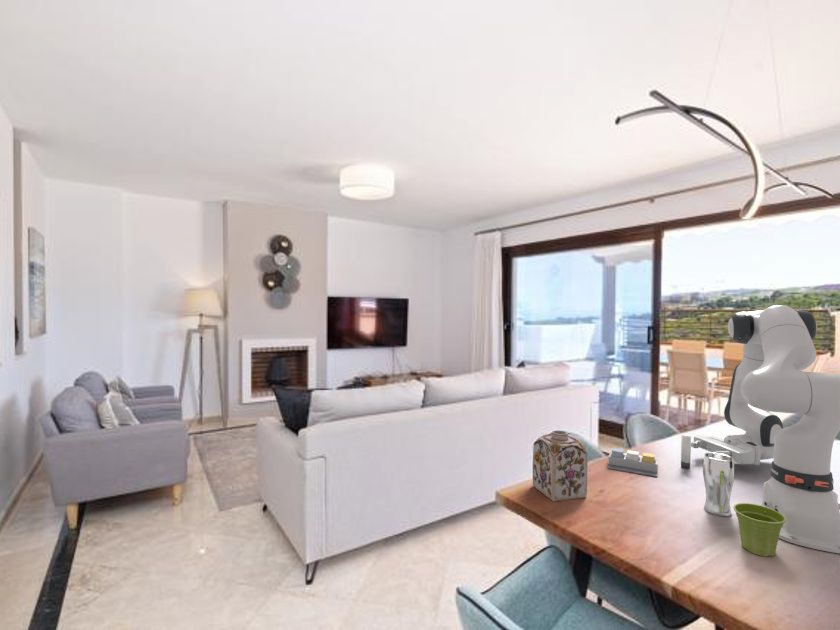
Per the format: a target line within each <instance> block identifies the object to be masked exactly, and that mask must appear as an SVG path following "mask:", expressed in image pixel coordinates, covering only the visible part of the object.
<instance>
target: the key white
mask: <svg viewBox="0 0 840 630" xmlns="http://www.w3.org/2000/svg"><path fill="white" fill-rule="evenodd" d="M626 453H627V459H630V460H636V461H639V455H640V451H636V450H629V449H627V451H626Z"/></svg>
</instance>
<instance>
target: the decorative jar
mask: <svg viewBox="0 0 840 630" xmlns="http://www.w3.org/2000/svg"><path fill="white" fill-rule="evenodd" d="M532 445H533V448H532V486H533V488H535V489H537V490H538V491H539V492H540V493H542V494H543V495H544V496H545V497H547V498H548V499H549V500H550V501H552V502H560V501H561V502H563V501H569V500H576V499H585V498H587V496H588V495H587V494H588V463H589V462H588V460H589V459H588V457H589V455H588V450H587V449H586V447H585V446H584V444H583V442H582V441H581V440H580V439H579V438H577V437H574V436H572V435H569V433H568V432H567V431H564V430H558V429H557V430H552V431H551V433H546V434H543V435H541V436H540V437H538V438H537V439H536V440H535V441H534V442H533V444H532Z"/></svg>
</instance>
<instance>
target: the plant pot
mask: <svg viewBox="0 0 840 630" xmlns="http://www.w3.org/2000/svg"><path fill="white" fill-rule="evenodd" d="M733 510H734V511H735V514H736V515H735V516H736V517H737V523H738V529H739V536H740V542H741V543H740V544H741V547H742V548H744V549H745V550H747V551H748V552H749V553H752V554H754V555H758V556H761V557H768V556H771V557H774V556H775V555H776V551H777V546H778V542H779V539H780V538H779V534H780V530H781V528H782V526H783V523H785V522H786V518H785V516H784V515H782V514H781V513H779V512H777V511H775V510H773V509H770V508H768V507H764V506H762V504H755V503H748V502H740V503H736V504H734V505H733Z"/></svg>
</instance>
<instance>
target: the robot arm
mask: <svg viewBox="0 0 840 630" xmlns="http://www.w3.org/2000/svg"><path fill="white" fill-rule="evenodd" d="M817 330H818V324H817V320H816V318H815V316H814V315H813V314H812V313H811V312H809V311H808V310H803V309H802V310H801V309H794V308H792V307H790V306H789V305H781V304H776V305H771V306H769V307H766V308H765V309H763V310H762V309H761V310H752V311H739V312H735V313H732V315H731V316H730V317H729V321H728V323H727V331H728V334H729V336H730V338H731V339H732V341H734V342H735V343H738V344H743V348H742V359H741V362H739V363H738V364H737V365H736V366H735V368H734V370H733V373H732V377H731V384H730V389H729V392H728V393H729V394H728V399H727V402H726V404H725V407H724V410H723V416H724V419H725V421H726V422H727V424H729V425H731V426H733V427H735V428H738V429H740V430H742V431H744V432H745V433H744V434H730V435H729V434H728V435H726V436H725V437H724V438H723V439H721V438H718V437H716V436H712V435H695V436H693V441H691V448H693V449H699V448H700V449H702V450H704V451H707V452H708V453H720V454H724V455H728V456H730V457H732V458H733V459H734V463H738V464H740V465H741V464H742V465H754V466H760V465H761V464H760V463H761V460H762V461H764V460H771V459H773V460H772V461H771V465H770V476H771V477H770V478H769V479H768V480H767V481H765V482H763V488H762V489H763V490H762V501H761V506H764V507H768V508H770V509H773V510H775V511H777V512H779V513H781V514H782V515H784V516H785V518H786V522H785V523H783V526H782V528H781V530H780V534H779V538H778V539H780V540H783V541H785V542H788V543H791V544H794V545H799V546H802V547H805V548H810V549H813V550H820V551H824V552H829V553H835V554H840V503H839V502H838V493H836V492H835V491H833V490H835V489H834V482H835V481H834V478H833V477H834V476H833V472H832V471H831V461H832V452H833V445H834V441H836V438H837V436H838V434H839V433H840V373H834V372H833V373H832V372H817V371H815V372H814V371H804V370H806V369H808V368H810V366H812V365H813V364H814V362H815V361H816V359H817V355H818V354H817V350H816V347H815V344H814V343H813V340H814V339H815V337H816V335H817V332H818V331H817ZM771 412H772V413H771ZM774 413H781V414H782V413H783V414H793V415H794V414H795V415H802V416H801V417H800V420H798V421H797V422H795V423H794V424H791V425H787V426H785V427H784V425H783V422H782V419H781V418H780V417H779V416H778V415H775V414H774Z"/></svg>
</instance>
